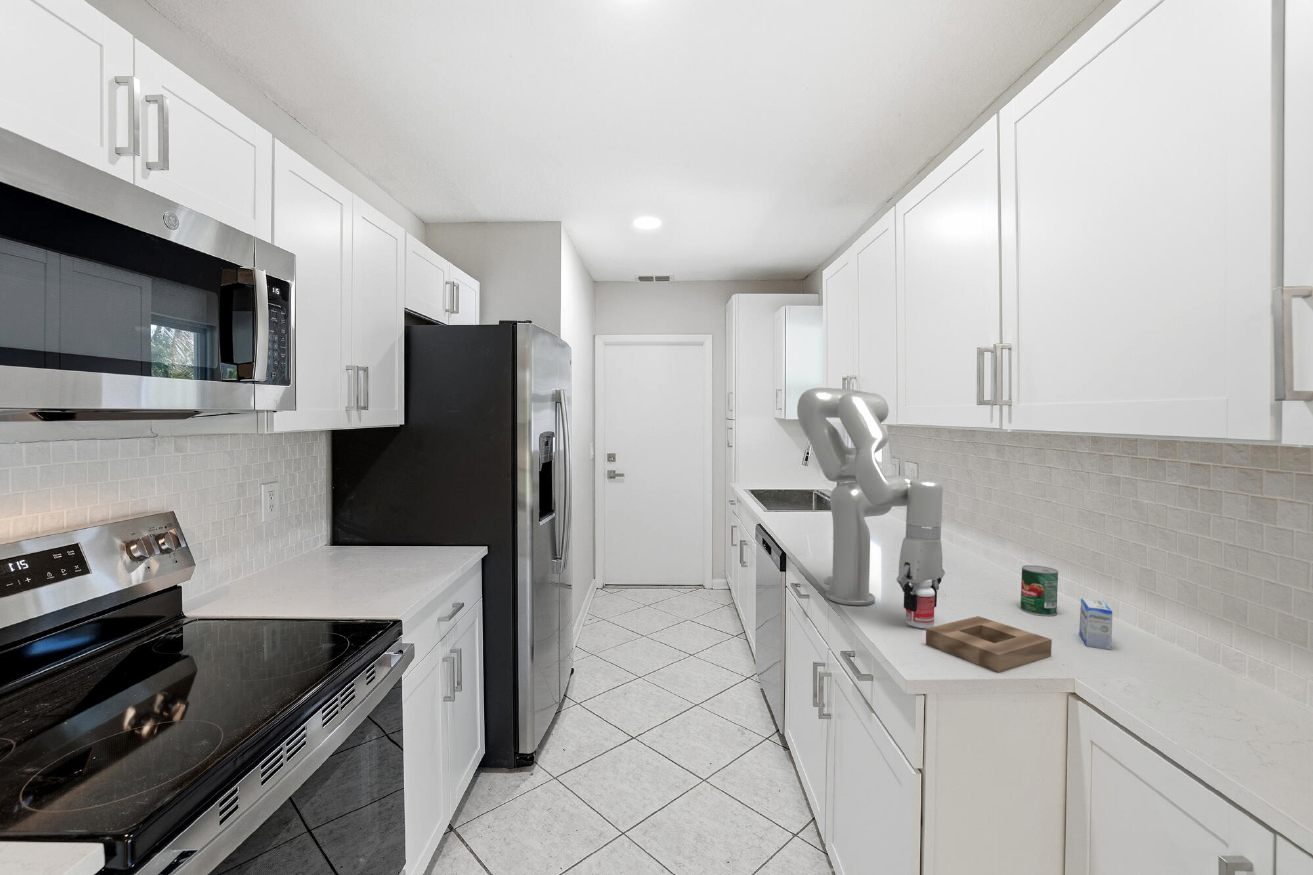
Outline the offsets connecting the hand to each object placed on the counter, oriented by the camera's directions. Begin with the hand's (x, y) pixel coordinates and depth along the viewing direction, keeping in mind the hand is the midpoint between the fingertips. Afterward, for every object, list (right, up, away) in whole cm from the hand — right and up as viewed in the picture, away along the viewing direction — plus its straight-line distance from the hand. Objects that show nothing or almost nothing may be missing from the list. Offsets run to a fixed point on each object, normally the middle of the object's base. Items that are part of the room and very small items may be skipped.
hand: (919, 607), depth 139 cm
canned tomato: (+36, -5, +12) cm, 38 cm away
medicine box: (+34, -5, -9) cm, 36 cm away
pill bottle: (0, -4, 0) cm, 4 cm away
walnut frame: (+8, -5, -14) cm, 17 cm away
